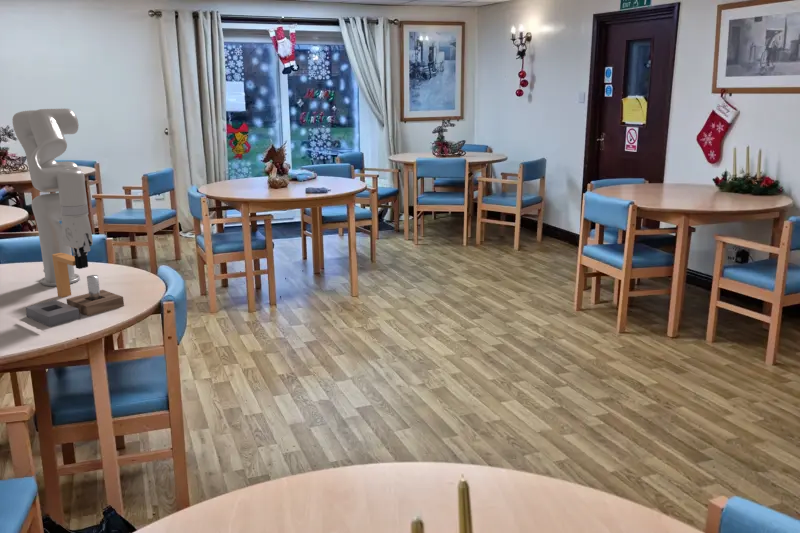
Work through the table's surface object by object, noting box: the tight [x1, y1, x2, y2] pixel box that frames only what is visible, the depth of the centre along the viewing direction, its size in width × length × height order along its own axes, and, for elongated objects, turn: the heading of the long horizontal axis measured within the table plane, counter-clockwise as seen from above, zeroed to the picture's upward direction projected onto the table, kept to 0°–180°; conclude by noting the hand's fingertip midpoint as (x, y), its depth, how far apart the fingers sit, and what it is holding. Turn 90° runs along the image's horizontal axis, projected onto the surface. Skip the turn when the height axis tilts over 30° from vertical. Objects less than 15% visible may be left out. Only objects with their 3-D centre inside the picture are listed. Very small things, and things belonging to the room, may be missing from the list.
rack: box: [25, 299, 81, 328], centre depth 205 cm, size 14×9×4 cm, turn 53°
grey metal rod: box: [86, 274, 101, 301], centre depth 213 cm, size 3×3×10 cm
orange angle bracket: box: [52, 253, 76, 298], centre depth 221 cm, size 14×4×15 cm, turn 53°
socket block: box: [66, 289, 125, 317], centre depth 214 cm, size 12×12×4 cm
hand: (82, 267), depth 214 cm, fingers closed
